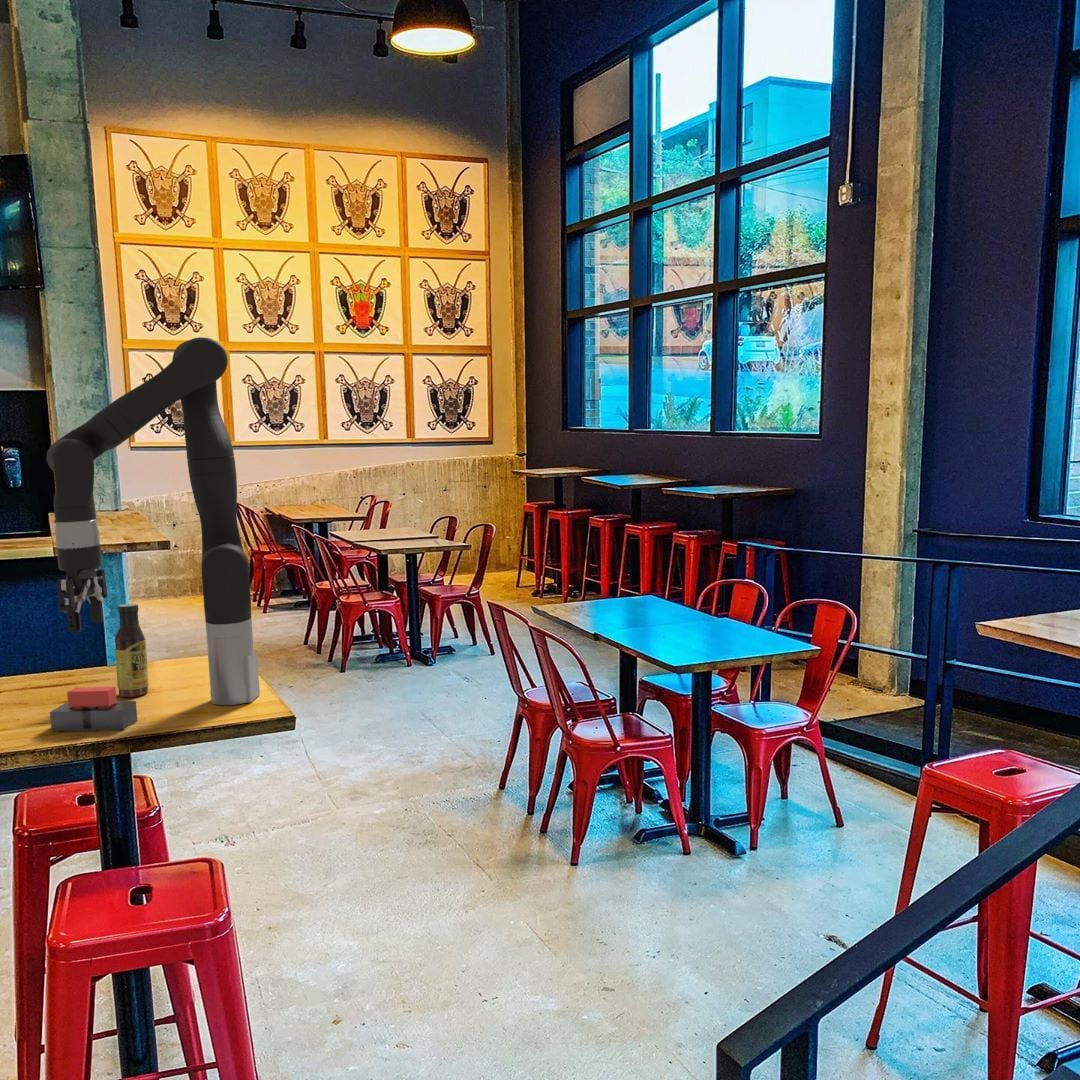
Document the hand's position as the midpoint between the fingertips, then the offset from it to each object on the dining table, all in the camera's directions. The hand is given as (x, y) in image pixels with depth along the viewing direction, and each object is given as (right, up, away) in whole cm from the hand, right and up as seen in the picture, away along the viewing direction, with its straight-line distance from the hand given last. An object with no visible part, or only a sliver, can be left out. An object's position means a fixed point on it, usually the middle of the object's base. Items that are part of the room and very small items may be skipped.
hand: (86, 627), depth 182 cm
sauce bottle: (-1, -17, +24) cm, 30 cm away
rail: (+1, -20, +2) cm, 20 cm away
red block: (0, -19, +2) cm, 19 cm away
